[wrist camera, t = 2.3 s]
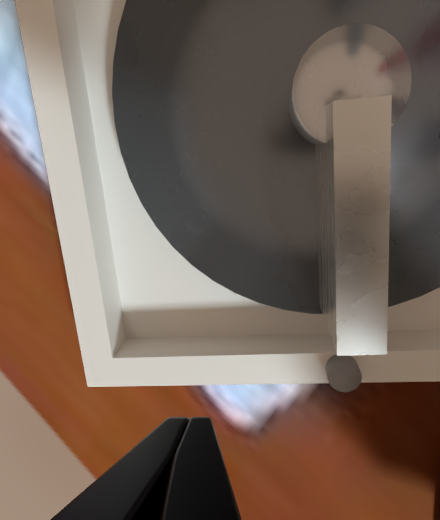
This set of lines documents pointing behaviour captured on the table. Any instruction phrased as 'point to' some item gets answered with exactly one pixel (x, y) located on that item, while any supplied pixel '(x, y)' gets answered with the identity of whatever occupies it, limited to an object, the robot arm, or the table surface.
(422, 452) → the table surface
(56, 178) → the dial housing
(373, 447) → the table surface
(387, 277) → the dial
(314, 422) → the table surface
